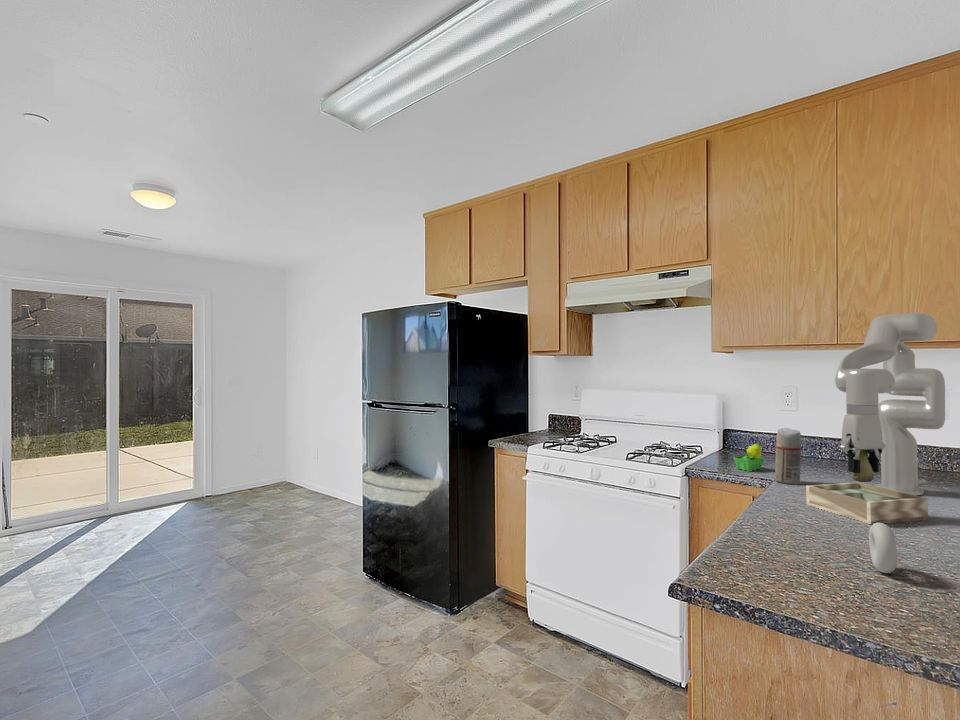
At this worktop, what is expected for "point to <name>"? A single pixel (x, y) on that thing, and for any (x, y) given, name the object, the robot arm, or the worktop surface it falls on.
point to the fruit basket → (750, 459)
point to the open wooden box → (867, 502)
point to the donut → (882, 548)
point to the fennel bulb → (864, 468)
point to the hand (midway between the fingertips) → (863, 471)
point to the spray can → (788, 456)
